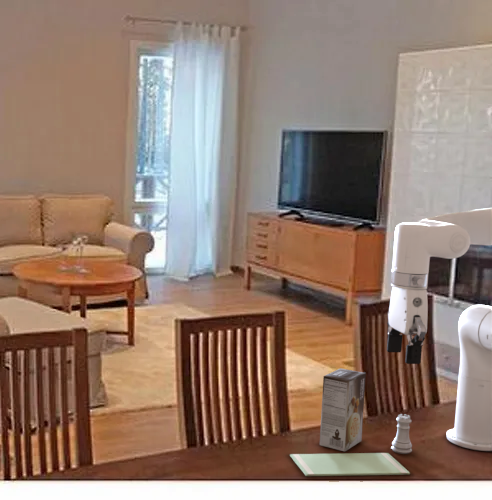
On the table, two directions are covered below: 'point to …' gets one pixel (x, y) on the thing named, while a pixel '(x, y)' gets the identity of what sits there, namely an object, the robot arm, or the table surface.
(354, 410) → the coffee box
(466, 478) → the table surface
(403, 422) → the rook chess piece
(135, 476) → the table surface
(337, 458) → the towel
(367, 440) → the table surface
